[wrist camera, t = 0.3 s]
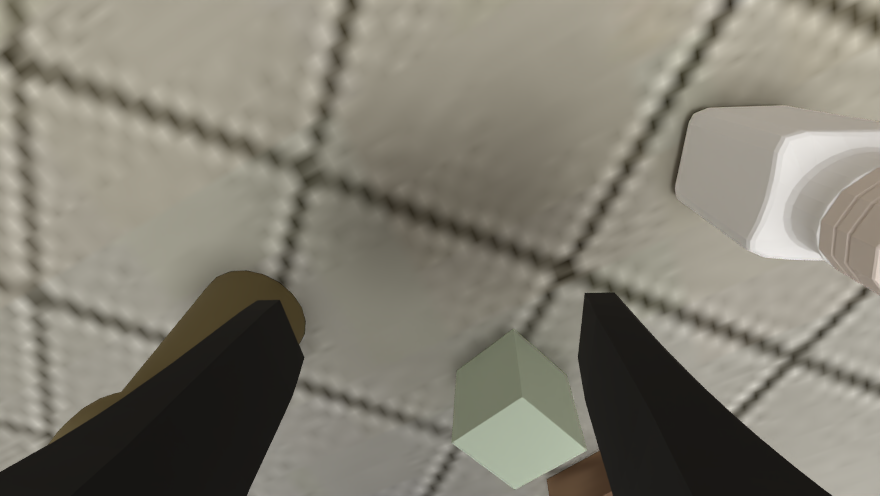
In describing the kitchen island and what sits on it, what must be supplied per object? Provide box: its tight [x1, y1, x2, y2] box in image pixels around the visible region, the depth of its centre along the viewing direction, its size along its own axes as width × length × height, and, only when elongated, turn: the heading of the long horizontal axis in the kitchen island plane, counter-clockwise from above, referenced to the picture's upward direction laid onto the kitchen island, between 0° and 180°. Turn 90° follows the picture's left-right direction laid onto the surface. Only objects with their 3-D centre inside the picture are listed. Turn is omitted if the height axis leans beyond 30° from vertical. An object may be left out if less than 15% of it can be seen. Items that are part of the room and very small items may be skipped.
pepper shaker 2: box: [675, 105, 880, 295], centre depth 13 cm, size 4×4×10 cm
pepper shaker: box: [48, 271, 306, 445], centre depth 19 cm, size 6×6×11 cm
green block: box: [452, 329, 587, 490], centre depth 22 cm, size 4×4×5 cm
